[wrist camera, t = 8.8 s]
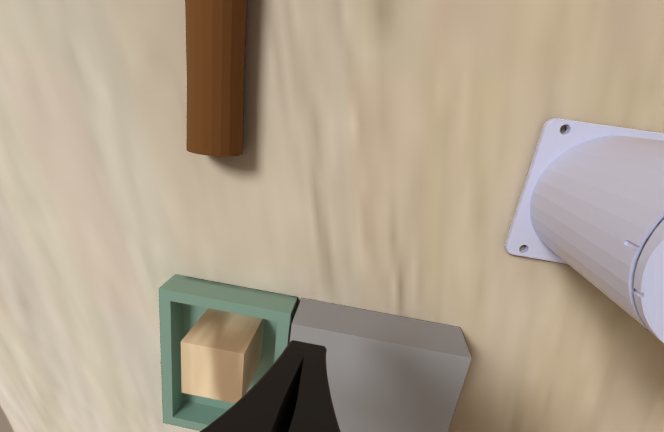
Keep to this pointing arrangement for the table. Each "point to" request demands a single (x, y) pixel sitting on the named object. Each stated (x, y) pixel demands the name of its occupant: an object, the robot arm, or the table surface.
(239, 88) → the hammer
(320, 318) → the slate plate
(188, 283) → the box
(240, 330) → the maple block
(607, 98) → the table surface
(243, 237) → the table surface
